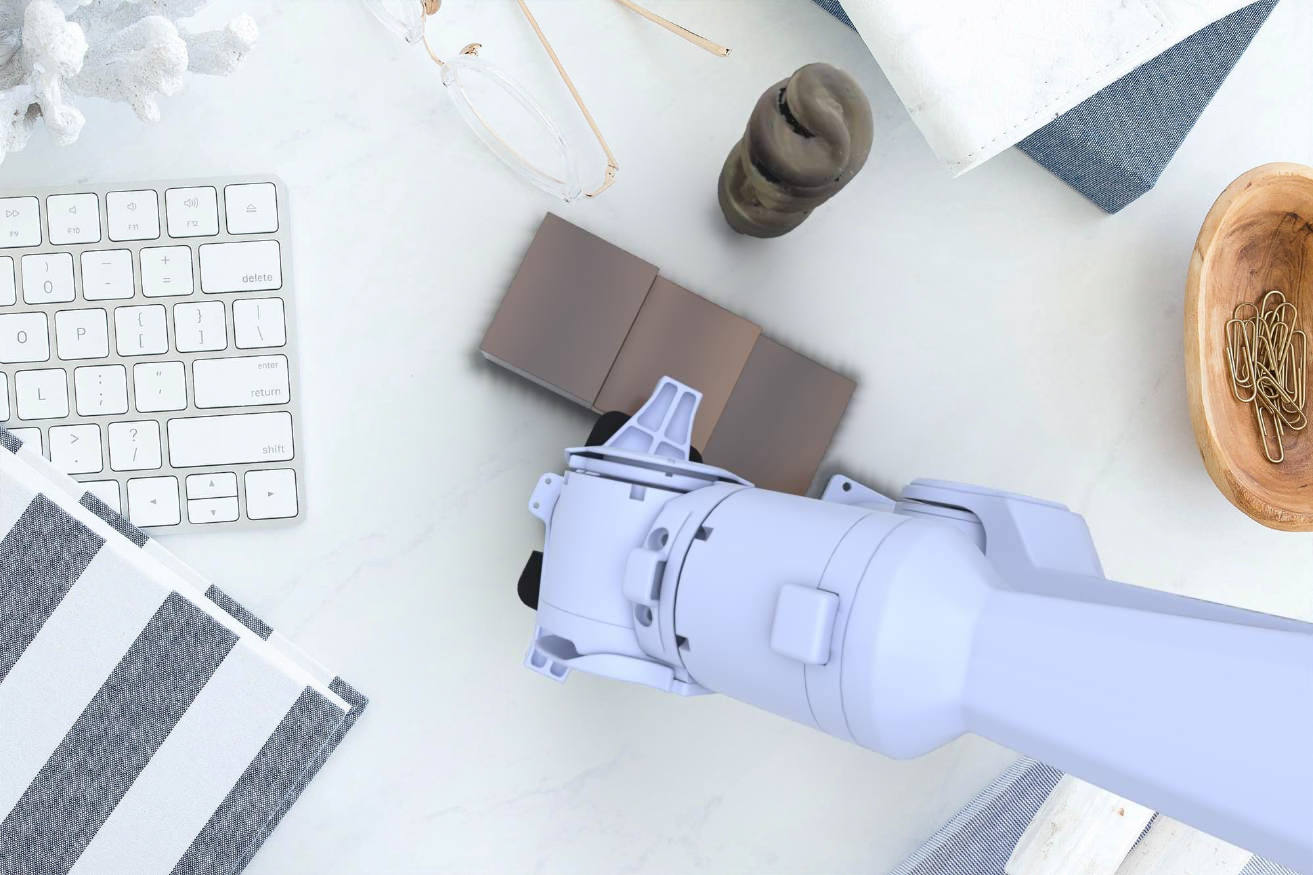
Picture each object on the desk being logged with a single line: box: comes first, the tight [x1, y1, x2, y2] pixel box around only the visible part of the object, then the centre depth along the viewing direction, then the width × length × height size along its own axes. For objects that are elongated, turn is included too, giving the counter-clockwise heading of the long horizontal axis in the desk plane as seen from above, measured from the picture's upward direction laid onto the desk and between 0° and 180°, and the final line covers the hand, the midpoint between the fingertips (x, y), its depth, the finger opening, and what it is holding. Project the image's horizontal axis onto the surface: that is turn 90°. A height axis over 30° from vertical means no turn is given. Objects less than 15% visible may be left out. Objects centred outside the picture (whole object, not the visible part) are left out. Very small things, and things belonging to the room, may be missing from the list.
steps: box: [478, 211, 858, 497], centre depth 50 cm, size 20×8×4 cm, turn 64°
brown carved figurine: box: [717, 61, 875, 240], centre depth 46 cm, size 6×6×15 cm
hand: (603, 515), depth 50 cm, fingers closed on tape, 5 cm apart
